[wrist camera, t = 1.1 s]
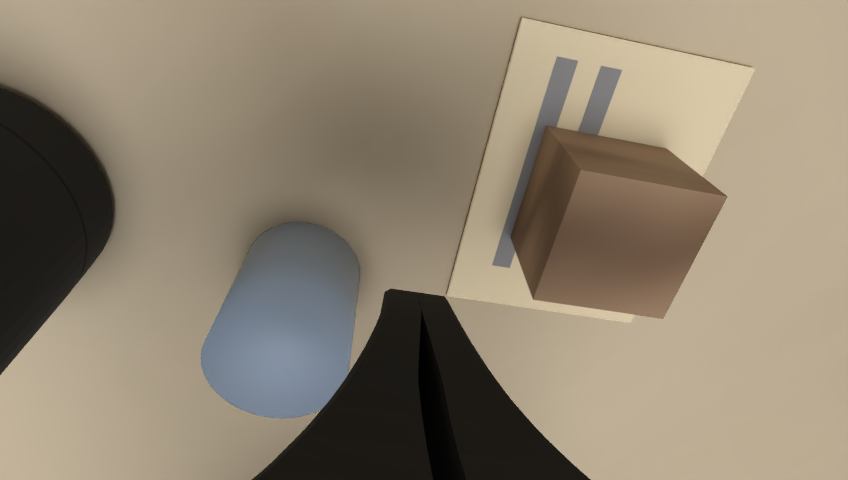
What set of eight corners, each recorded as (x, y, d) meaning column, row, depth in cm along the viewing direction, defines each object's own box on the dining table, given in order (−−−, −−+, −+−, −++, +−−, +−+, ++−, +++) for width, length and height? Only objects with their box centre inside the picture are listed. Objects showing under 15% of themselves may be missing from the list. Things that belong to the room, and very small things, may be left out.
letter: (629, 320, 26) (631, 323, 25) (446, 293, 24) (447, 296, 24) (752, 67, 20) (756, 68, 20) (521, 17, 19) (522, 17, 18)
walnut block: (619, 255, 23) (663, 318, 19) (510, 237, 23) (533, 299, 19) (666, 148, 21) (727, 196, 17) (546, 125, 20) (580, 169, 16)
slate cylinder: (352, 323, 25) (339, 424, 20) (243, 309, 24) (200, 409, 19) (368, 232, 23) (357, 320, 17) (248, 213, 22) (200, 298, 17)
